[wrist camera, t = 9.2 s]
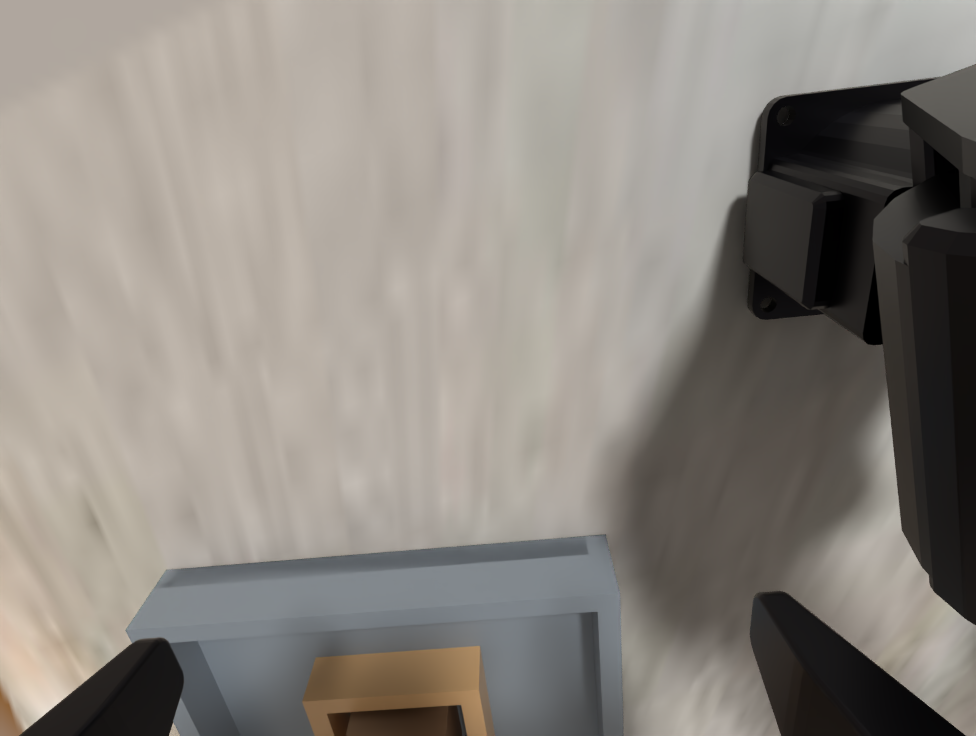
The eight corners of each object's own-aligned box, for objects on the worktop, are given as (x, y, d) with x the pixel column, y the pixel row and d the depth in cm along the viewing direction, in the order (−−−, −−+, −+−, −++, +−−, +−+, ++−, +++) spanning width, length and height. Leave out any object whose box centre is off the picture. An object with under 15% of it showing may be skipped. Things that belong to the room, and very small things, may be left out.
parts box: (605, 534, 24) (620, 593, 21) (614, 779, 30) (626, 847, 28) (166, 570, 25) (125, 630, 22) (270, 799, 31) (249, 866, 29)
